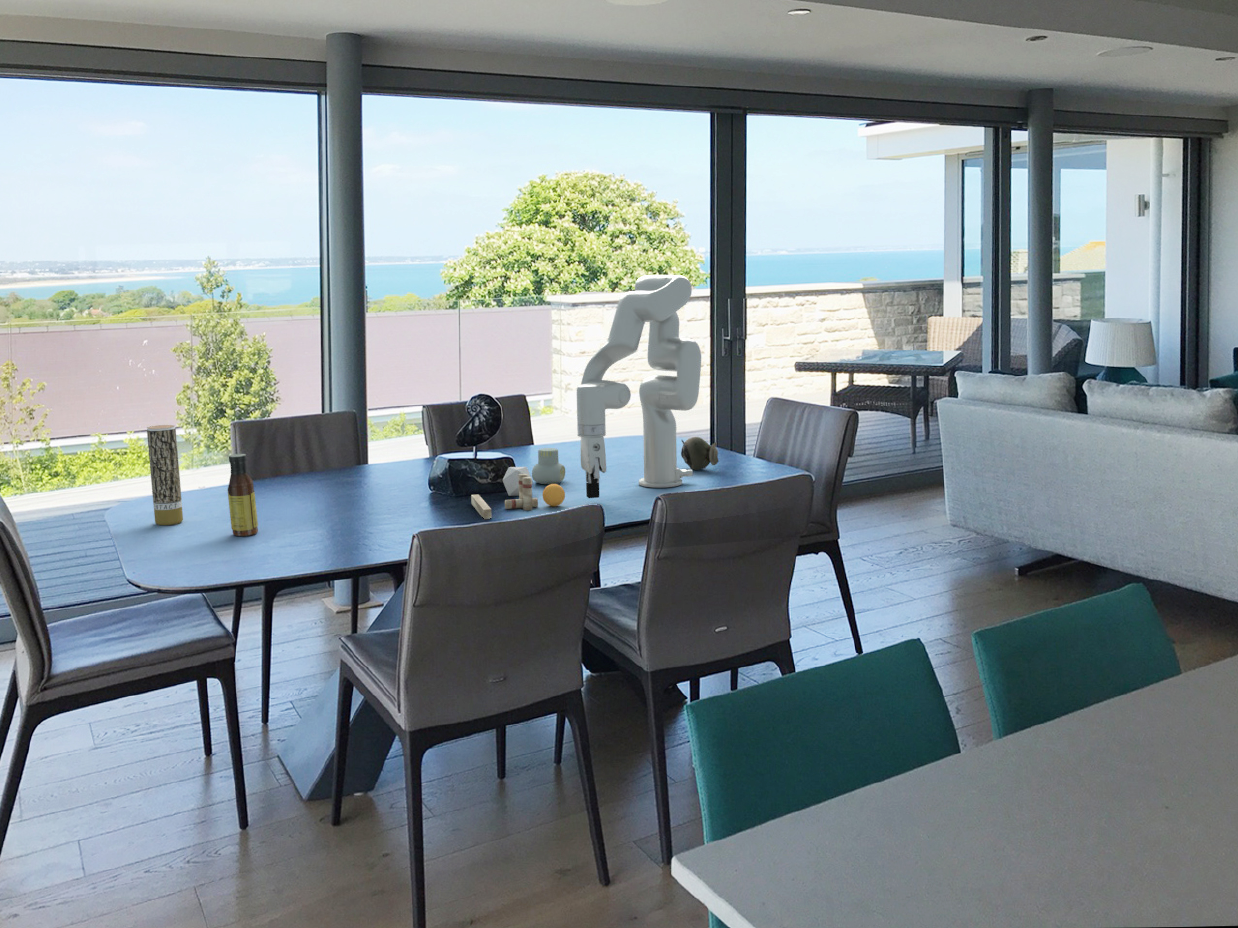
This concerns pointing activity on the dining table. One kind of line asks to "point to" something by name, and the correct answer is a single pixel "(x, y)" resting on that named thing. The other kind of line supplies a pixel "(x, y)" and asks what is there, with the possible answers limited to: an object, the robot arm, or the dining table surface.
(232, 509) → the sauce bottle
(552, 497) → the ball
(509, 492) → the die
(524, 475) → the pin
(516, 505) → the front pin
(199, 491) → the dining table surface
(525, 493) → the pin
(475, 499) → the backstop
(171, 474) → the paper tube
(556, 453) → the air freshener
